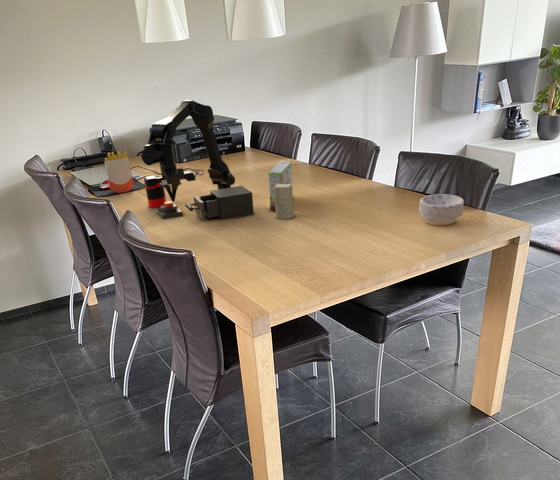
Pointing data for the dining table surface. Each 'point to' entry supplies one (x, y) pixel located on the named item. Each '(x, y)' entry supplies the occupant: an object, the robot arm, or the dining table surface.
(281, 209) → the cosmetic box
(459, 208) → the grey stone bowl
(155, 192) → the soda can
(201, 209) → the drawer
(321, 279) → the dining table surface
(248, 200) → the dark grey hollow box
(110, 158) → the french fries container
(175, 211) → the panel
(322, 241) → the dining table surface
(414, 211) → the dining table surface
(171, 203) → the button
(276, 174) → the snack box
